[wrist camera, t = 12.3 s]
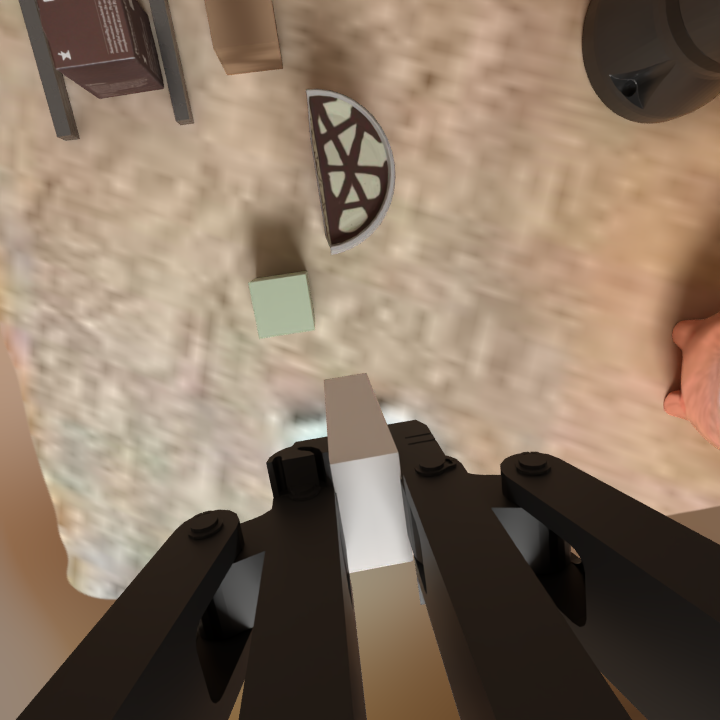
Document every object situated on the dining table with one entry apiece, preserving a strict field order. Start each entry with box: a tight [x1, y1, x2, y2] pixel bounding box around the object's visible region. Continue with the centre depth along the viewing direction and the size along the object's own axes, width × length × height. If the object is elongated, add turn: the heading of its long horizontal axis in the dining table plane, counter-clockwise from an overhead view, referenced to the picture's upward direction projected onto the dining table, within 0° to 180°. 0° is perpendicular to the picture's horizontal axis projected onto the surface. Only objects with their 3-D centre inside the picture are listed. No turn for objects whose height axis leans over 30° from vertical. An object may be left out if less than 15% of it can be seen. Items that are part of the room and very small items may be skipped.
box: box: [36, 0, 164, 99], centre depth 38 cm, size 6×6×7 cm
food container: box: [306, 89, 395, 255], centre depth 41 cm, size 12×6×10 cm, turn 8°
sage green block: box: [248, 271, 315, 339], centre depth 45 cm, size 5×5×6 cm
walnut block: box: [204, 0, 283, 75], centre depth 39 cm, size 5×5×6 cm
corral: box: [19, 0, 194, 141], centre depth 40 cm, size 11×12×2 cm
